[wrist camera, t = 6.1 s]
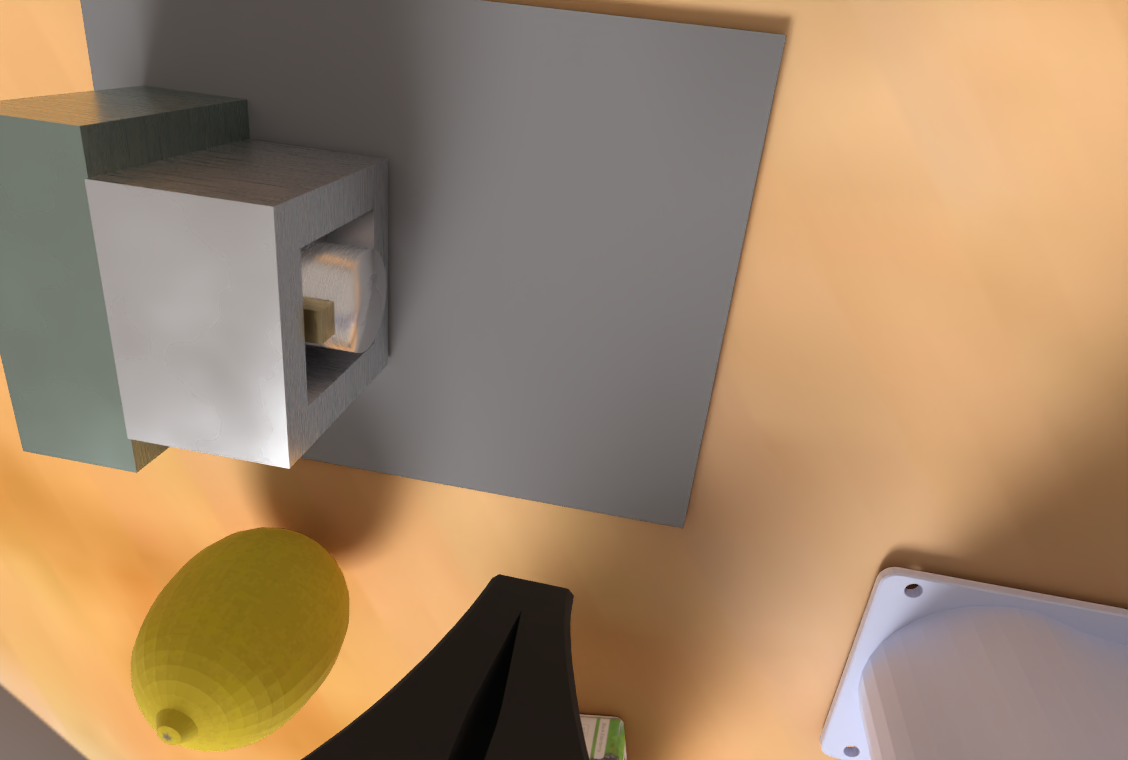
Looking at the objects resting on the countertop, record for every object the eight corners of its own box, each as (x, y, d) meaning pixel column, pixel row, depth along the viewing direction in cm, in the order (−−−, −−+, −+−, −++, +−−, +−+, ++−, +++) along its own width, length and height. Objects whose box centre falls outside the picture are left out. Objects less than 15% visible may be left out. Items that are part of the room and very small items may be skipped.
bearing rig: (413, 119, 20) (297, 156, 14) (409, 390, 24) (314, 506, 18) (116, 80, 21) (-103, 100, 15) (154, 346, 25) (-14, 443, 19)
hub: (388, 158, 20) (273, 207, 15) (387, 364, 23) (289, 468, 17) (246, 139, 21) (84, 178, 15) (261, 343, 23) (127, 438, 18)
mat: (784, 35, 18) (786, 35, 18) (683, 522, 24) (683, 528, 24) (81, -46, 20) (73, -47, 20) (152, 425, 26) (146, 429, 26)
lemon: (236, 465, 26) (58, 632, 19) (391, 506, 26) (269, 693, 18) (236, 588, 28) (78, 777, 21) (378, 628, 28) (265, 834, 21)
